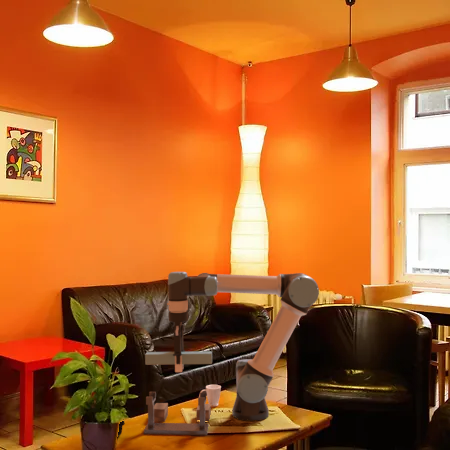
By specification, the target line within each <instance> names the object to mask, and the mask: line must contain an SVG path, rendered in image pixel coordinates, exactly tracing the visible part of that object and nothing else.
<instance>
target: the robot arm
mask: <svg viewBox="0 0 450 450" xmlns="http://www.w3.org/2000/svg"><path fill="white" fill-rule="evenodd" d="M167 278H168V279H167V293H168V302H167V303H166V305H167V306H168V311H169V312H168V322H170V323H174V325H173V326H172V331H173V346H174V350H173V352H174V354H173V356H175V364H174V372H175V373H182V372H183V370H184V364H182V353H181V352H186V349H185V348H184V333H185V331H184V330H185V329H184V328H185V326H184V324H183V323H185V322H187V321H188V320H189V314H188V313H189V312H188V310H189V306H188V305H189V303H188V302H189V300H188V297H192V296H194V297H195V296H197V297H203V296H205V297H207V296H208V297H210V296H217V294H218V293H230V294H233V293H234V294H251V295H252V294H254V295H255V294H256V295H275V296H277V297H279V298H280V304H281V306H280V308H279V310H278V311H277V313H276V316H275V317H274V319H273V321H272V323H271V325H270V327H269V329H268V330H267V333H266V334H265V336H264V338H263V340H262V342H261V344H260V346H259V348H258V349H257V351H256V353H255V355H254V357H253V358H250V359H249V358H248V359H246V358H244V359H238V360H237V362H236V366H235V368H236V369H235V370H236V372H235V373H236V374H235V375H236V378H235V379H236V381H235V383H236V395H235V396H236V397H235V400H234V404H233V406H232V417H233V416H234V417H233V418H235V419H237V418H238V419H237V420H239V421H240V420H241V421H245V420H250V421H249V422H253V420H257V421H262V420H265V419H267V418H268V417H269V416H270V415H269V414H270V413H269V411H270V410H269V407H268V405H267V401H266V396H267V394H268V391H269V386H270V383H271V382H272V380H273V378H274V376H275V375H274V371H273V370H274V368H275V366H276V364H277V362H278V361H279V358H280V357H281V354H282V352H283V351H284V349H285V347H286V345H287V343H288V341H289V340H290V338H291V336H292V334H293V332H294V330H295V328H296V327H297V325H298V322H300V319H301V317H303V316H306V315H307V314H308V313H309V310H310V309H311V307H312V306H313V305H314V304H316V302H317V300H318V298H319V295H320V290H319V288H320V287H319V286H318V283H317V282H316V280H315V279H314V278H312V277H311V276H309V275H307V274H306V273H303V272H296V273H295V272H294V273H279V274H278V275H253V274H252V275H251V274H249V275H248V274H225V273H224V274H221V273H217V274H215V273H208V272H202V273H199V274H198V275H197V276H188V272H186V271H171V272H170V273H168V274H167ZM261 419H262V420H261Z"/></svg>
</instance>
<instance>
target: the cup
mask: <svg viewBox="0 0 450 450" xmlns="http://www.w3.org/2000/svg"><path fill="white" fill-rule="evenodd" d="M221 388H222V386H221V385H218V384H207V385H206V386H205V389H202V390H200V392H199V396H198V397H200V393H204V392H205V393H206V400H207V402H208V403H207V404H211V407H218V406H219V401H220V397H221V390H222V389H221Z"/></svg>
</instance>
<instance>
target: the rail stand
mask: <svg viewBox="0 0 450 450" xmlns="http://www.w3.org/2000/svg"><path fill="white" fill-rule="evenodd" d="M148 395H149V396H146V397H145V405H146V406H147V424H146V425H145V426H144V428H143V435H168V436H169V435H172V436H173V435H174V436H175V435H176V436H207V435H208V432H209V428H210V426H209V423H205V404H207V392H202V393H200V392H199V395H200V397H199V396H198V397H197V404H198V405H197V407H198V406H199V417H200V422H199V423H194V422H193V423H187V422H186V423H185V422H179V423H178V422H176V423H175V422H155V421H154V405H155V401H156V397H157V393H156V391H149V392H148ZM208 427H209V428H208ZM207 431H208V432H207Z"/></svg>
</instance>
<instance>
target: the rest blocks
mask: <svg viewBox="0 0 450 450" xmlns="http://www.w3.org/2000/svg"><path fill="white" fill-rule="evenodd" d="M211 411H212V406H211V404H209V403H205V421H209V422H210V420H209V419H211V417H210V415H211V414H212V413H211ZM195 414H196V416H195V417H196V418H195V419H196V420H200V417H199V406H198V405H197V407H196V413H195ZM168 415H169V403H168V402H156V403H154V423H166V420H167V418H168ZM211 416H212V415H211ZM196 420H195V421H196Z"/></svg>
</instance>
